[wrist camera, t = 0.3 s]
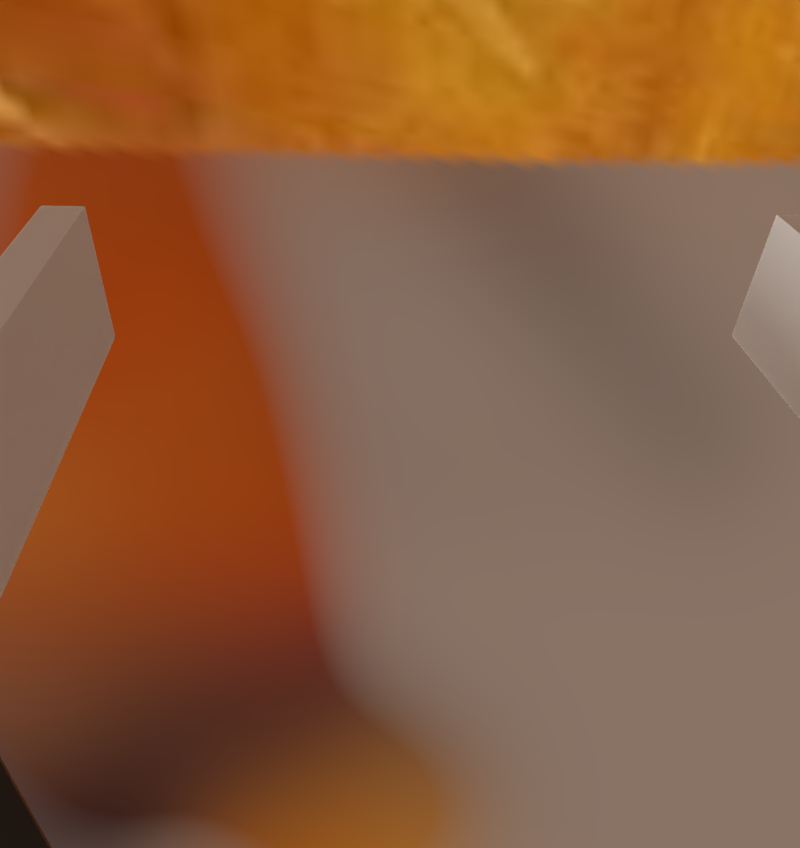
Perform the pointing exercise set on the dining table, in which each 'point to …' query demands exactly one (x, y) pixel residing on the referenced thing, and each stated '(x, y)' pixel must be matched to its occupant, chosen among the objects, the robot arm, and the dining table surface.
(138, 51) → the dining table surface
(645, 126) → the dining table surface
